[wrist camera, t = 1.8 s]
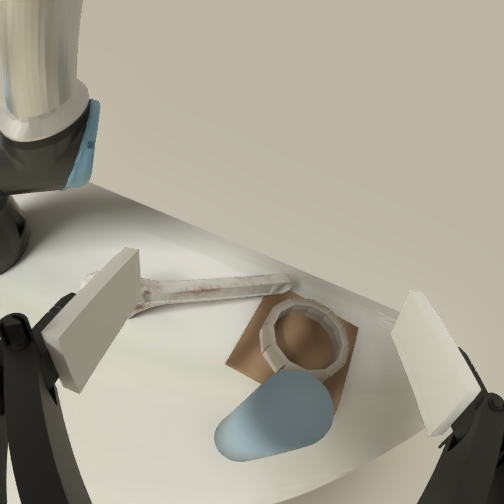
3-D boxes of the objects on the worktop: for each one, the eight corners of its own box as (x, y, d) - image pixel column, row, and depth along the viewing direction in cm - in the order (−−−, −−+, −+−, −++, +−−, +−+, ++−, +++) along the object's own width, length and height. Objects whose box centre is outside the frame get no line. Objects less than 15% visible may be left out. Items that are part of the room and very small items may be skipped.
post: (205, 447, 28) (240, 425, 17) (228, 407, 32) (275, 356, 21) (252, 469, 27) (318, 458, 16) (272, 428, 31) (342, 389, 20)
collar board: (225, 363, 36) (230, 353, 34) (271, 284, 47) (278, 271, 45) (331, 416, 34) (344, 410, 32) (355, 330, 46) (366, 319, 43)
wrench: (281, 303, 48) (84, 322, 33) (276, 294, 49) (84, 310, 34) (303, 270, 43) (78, 282, 28) (298, 261, 44) (78, 269, 29)
